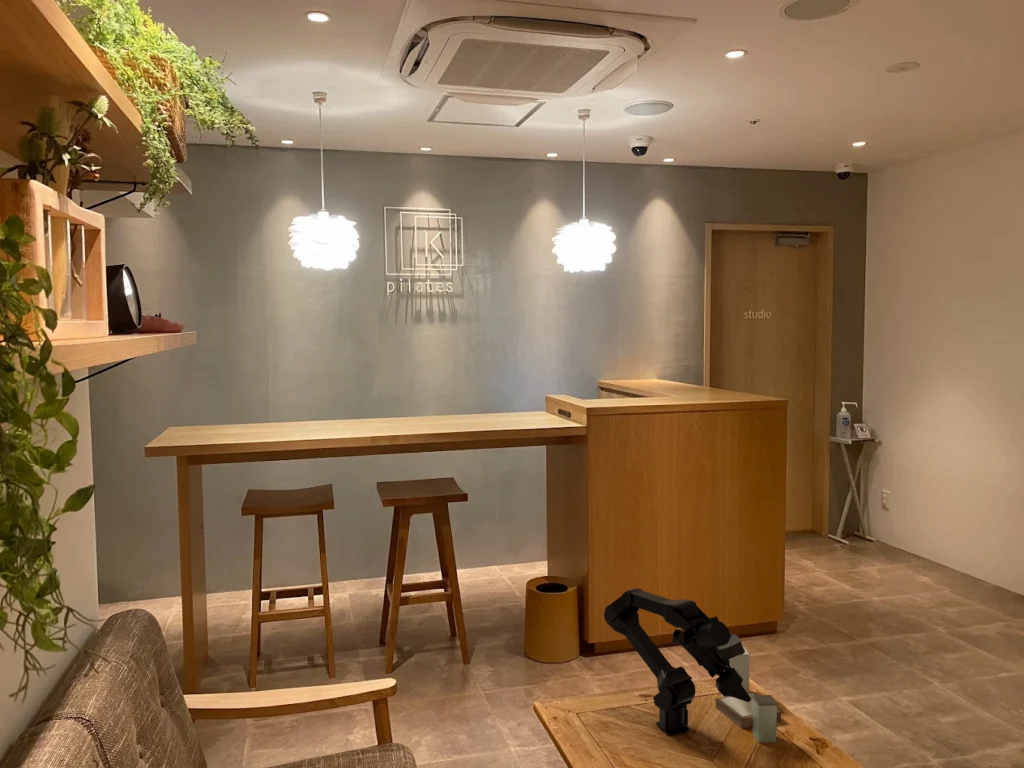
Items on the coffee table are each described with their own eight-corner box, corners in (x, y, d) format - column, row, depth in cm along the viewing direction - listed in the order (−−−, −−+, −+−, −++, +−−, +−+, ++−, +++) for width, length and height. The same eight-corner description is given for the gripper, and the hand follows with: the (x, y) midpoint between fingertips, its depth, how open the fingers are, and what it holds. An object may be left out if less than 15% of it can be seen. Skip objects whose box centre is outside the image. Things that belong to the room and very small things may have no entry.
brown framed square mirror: (741, 728, 211) (741, 718, 211) (715, 707, 222) (715, 698, 222) (780, 720, 215) (781, 710, 215) (753, 700, 226) (753, 691, 226)
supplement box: (749, 699, 227) (750, 654, 226) (722, 699, 227) (723, 654, 226) (742, 687, 235) (743, 644, 234) (716, 687, 235) (717, 644, 234)
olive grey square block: (757, 742, 204) (758, 703, 203) (752, 733, 208) (752, 695, 208) (776, 742, 204) (777, 703, 203) (770, 733, 208) (770, 694, 208)
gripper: (734, 641, 194) (780, 686, 195) (715, 613, 213) (757, 654, 213) (700, 673, 195) (746, 718, 196) (684, 642, 213) (726, 683, 214)
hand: (744, 692), depth 205 cm, fingers open, 9 cm apart
